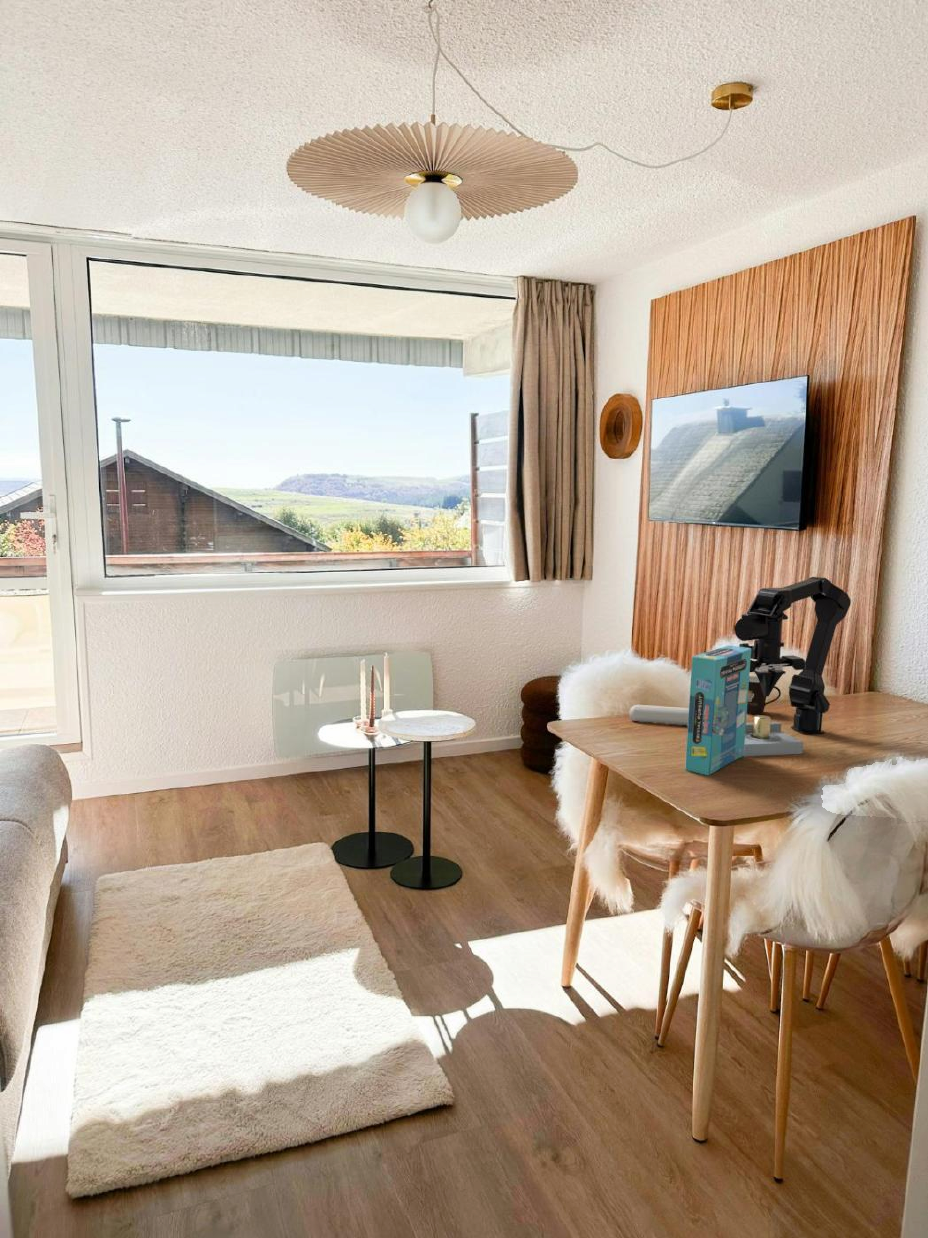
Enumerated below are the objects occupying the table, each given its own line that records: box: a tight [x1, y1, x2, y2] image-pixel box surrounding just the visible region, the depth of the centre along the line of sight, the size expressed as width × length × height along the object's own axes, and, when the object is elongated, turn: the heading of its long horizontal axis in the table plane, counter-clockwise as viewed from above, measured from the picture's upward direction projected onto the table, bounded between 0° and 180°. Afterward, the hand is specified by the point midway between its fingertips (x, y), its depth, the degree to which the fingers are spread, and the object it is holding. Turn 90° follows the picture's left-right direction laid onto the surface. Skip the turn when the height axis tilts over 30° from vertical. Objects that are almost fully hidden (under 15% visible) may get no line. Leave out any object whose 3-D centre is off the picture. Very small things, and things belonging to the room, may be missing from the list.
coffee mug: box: [747, 675, 782, 716], centre depth 256 cm, size 12×9×10 cm
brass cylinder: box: [753, 714, 772, 740], centre depth 220 cm, size 4×4×8 cm
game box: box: [684, 645, 752, 776], centre depth 205 cm, size 20×6×27 cm, turn 140°
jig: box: [743, 721, 804, 757], centre depth 220 cm, size 16×12×5 cm
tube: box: [629, 704, 689, 727], centre depth 242 cm, size 5×5×25 cm
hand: (766, 696), depth 227 cm, fingers closed
